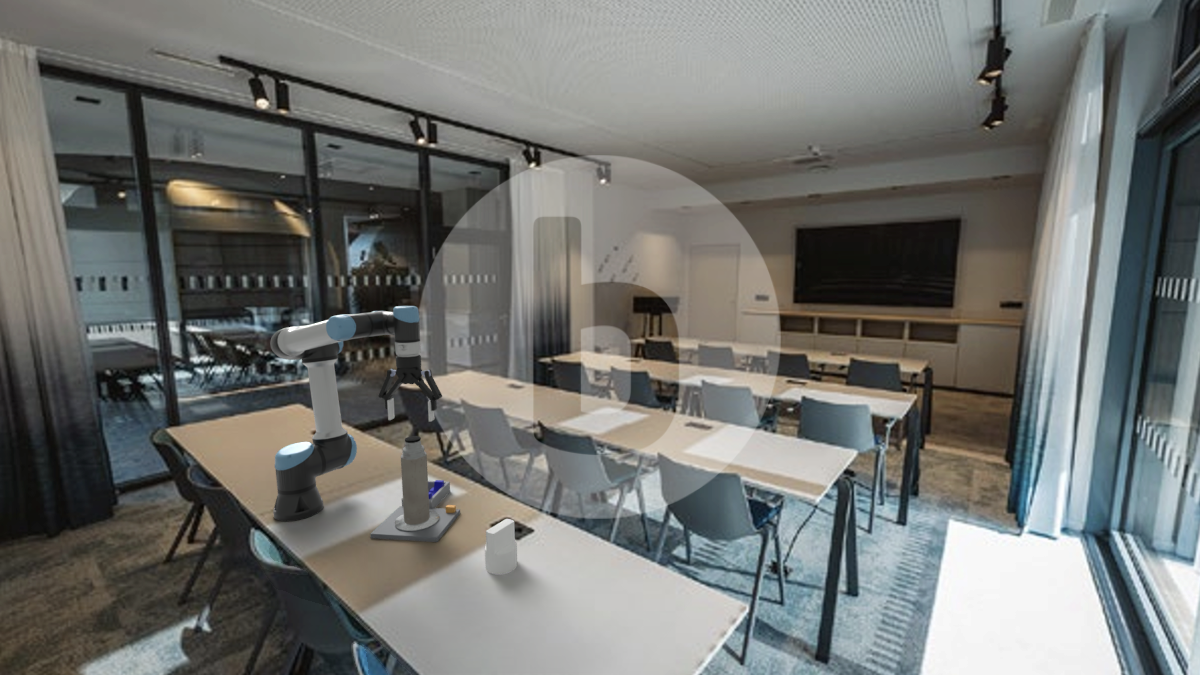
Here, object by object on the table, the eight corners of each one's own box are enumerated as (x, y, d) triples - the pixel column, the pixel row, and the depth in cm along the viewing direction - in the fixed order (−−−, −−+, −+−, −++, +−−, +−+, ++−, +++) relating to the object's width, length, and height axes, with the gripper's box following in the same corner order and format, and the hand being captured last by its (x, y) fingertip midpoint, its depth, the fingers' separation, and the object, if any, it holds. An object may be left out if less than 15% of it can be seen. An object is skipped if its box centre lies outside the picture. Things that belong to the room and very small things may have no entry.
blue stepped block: (432, 495, 193) (432, 479, 193) (444, 495, 193) (443, 480, 192) (418, 509, 182) (417, 493, 181) (430, 510, 181) (429, 494, 180)
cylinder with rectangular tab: (502, 578, 141) (501, 537, 139) (478, 568, 146) (477, 528, 144) (523, 562, 148) (522, 523, 147) (500, 553, 153) (499, 515, 152)
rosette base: (370, 538, 162) (369, 527, 162) (400, 510, 181) (399, 500, 180) (437, 542, 160) (436, 531, 159) (460, 513, 178) (459, 503, 178)
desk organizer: (402, 509, 181) (401, 498, 181) (422, 490, 197) (422, 480, 196) (431, 511, 180) (431, 500, 179) (450, 491, 196) (449, 481, 195)
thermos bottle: (416, 511, 175) (412, 432, 171) (434, 516, 172) (431, 435, 168) (398, 522, 168) (394, 439, 164) (417, 527, 165) (412, 443, 161)
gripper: (364, 356, 160) (368, 421, 163) (441, 357, 158) (443, 424, 160) (377, 352, 168) (381, 415, 171) (450, 353, 165) (453, 417, 168)
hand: (411, 419), depth 166 cm, fingers open, 13 cm apart
